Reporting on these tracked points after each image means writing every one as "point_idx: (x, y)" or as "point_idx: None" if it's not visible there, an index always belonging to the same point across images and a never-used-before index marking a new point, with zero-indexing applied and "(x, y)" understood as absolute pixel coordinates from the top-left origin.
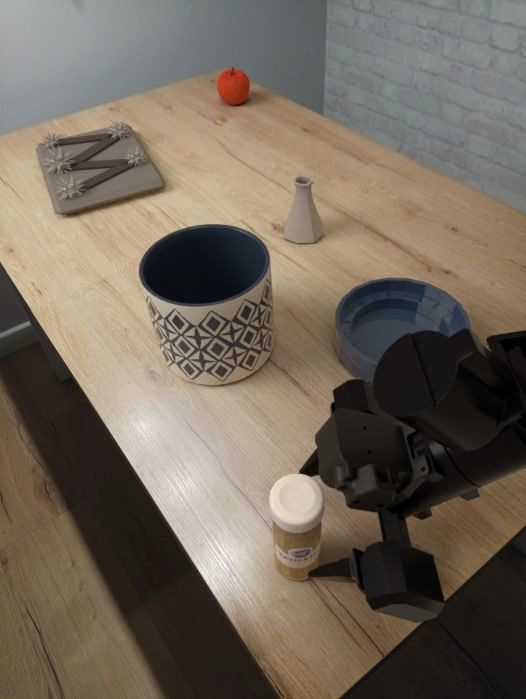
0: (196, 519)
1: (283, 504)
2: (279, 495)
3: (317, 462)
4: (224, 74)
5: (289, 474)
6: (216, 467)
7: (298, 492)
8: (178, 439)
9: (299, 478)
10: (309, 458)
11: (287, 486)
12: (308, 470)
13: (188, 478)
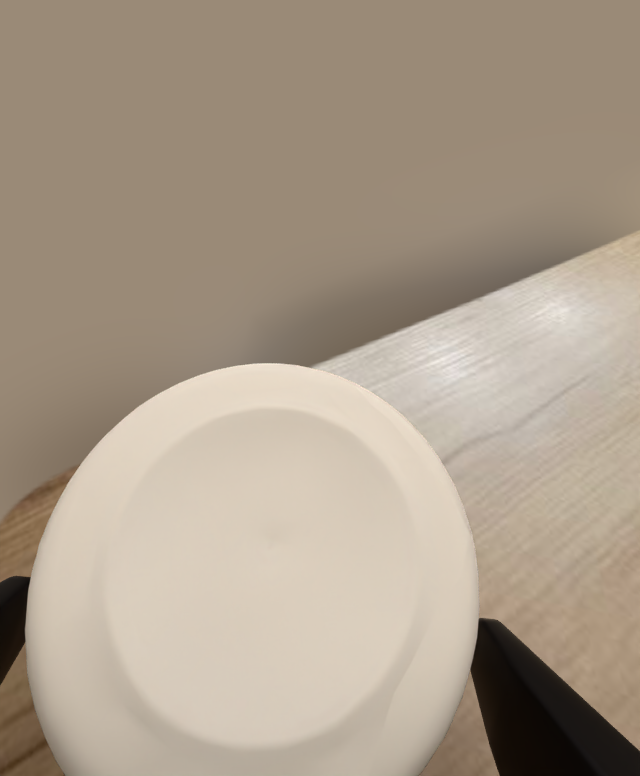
0: (379, 378)
1: (234, 432)
2: (305, 417)
3: (569, 767)
4: None
5: (467, 521)
6: (489, 424)
7: (307, 566)
8: (541, 362)
9: (434, 600)
10: (583, 704)
11: (368, 484)
12: (506, 678)
13: (461, 372)
